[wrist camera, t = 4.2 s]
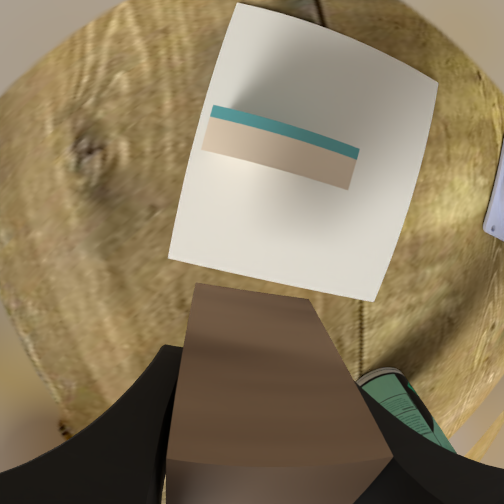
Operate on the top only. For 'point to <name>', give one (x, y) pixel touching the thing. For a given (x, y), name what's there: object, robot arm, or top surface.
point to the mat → (295, 186)
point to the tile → (280, 146)
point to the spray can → (403, 402)
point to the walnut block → (266, 408)
